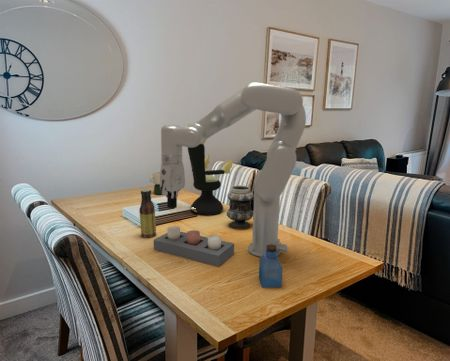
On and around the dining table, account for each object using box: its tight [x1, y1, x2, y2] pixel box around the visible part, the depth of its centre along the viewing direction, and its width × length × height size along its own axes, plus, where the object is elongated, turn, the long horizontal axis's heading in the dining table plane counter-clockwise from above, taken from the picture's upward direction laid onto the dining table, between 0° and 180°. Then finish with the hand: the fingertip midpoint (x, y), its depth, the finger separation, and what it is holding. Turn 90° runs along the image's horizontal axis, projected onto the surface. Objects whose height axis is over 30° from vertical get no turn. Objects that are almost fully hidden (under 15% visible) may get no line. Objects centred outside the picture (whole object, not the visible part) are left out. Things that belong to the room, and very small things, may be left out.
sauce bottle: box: [138, 188, 157, 239], centre depth 141 cm, size 7×6×20 cm
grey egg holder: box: [153, 231, 235, 268], centre depth 128 cm, size 28×12×4 cm, turn 62°
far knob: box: [166, 225, 181, 241], centre depth 132 cm, size 5×5×5 cm
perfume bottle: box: [258, 244, 283, 288], centre depth 107 cm, size 6×6×12 cm
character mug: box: [149, 171, 162, 195], centre depth 207 cm, size 11×7×13 cm, turn 120°
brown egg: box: [186, 230, 201, 246], centre depth 128 cm, size 5×5×5 cm
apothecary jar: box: [226, 184, 254, 230], centre depth 155 cm, size 12×12×18 cm
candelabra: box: [187, 123, 233, 216], centre depth 170 cm, size 19×22×45 cm
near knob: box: [207, 234, 222, 251], centre depth 124 cm, size 5×5×5 cm
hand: (172, 207), depth 129 cm, fingers closed
